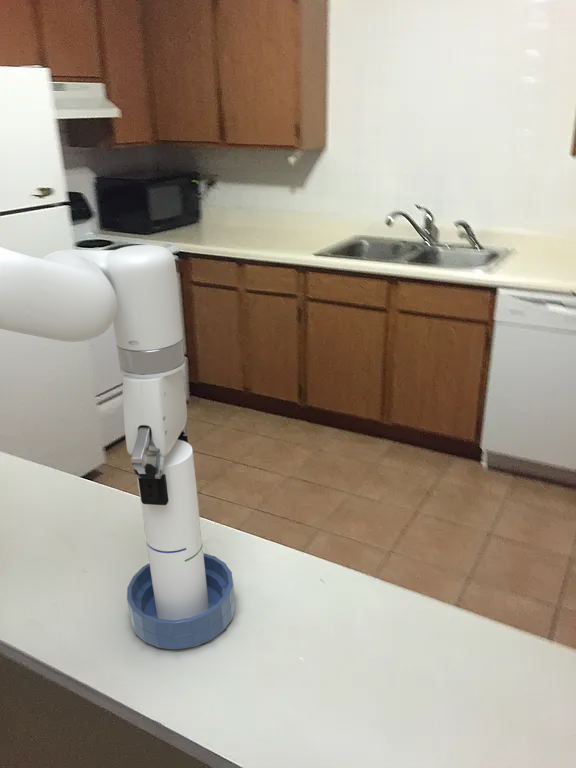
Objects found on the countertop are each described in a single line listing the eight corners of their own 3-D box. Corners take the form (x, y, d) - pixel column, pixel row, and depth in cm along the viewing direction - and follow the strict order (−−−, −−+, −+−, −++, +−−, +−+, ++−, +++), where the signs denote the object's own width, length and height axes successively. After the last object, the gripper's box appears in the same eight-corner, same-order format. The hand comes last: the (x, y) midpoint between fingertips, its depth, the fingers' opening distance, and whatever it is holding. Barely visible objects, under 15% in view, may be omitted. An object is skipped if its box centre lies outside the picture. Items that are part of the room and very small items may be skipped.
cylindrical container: (152, 600, 95) (129, 445, 84) (202, 587, 97) (185, 434, 87) (162, 635, 88) (138, 472, 78) (214, 620, 91) (198, 460, 80)
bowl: (116, 648, 87) (111, 618, 85) (151, 576, 100) (147, 548, 98) (222, 656, 85) (219, 626, 83) (243, 582, 98) (241, 554, 96)
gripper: (145, 329, 86) (159, 447, 93) (90, 384, 70) (113, 521, 77) (202, 330, 85) (212, 449, 92) (159, 386, 69) (176, 524, 76)
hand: (167, 481), depth 84 cm, fingers open, 9 cm apart
